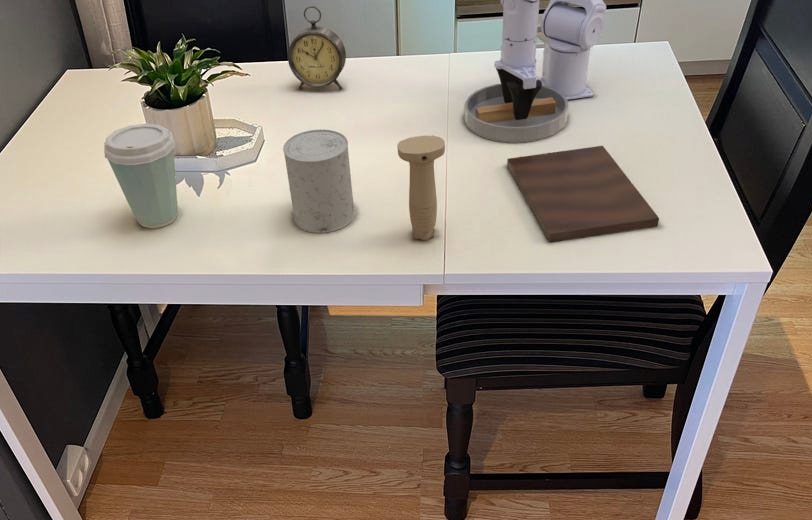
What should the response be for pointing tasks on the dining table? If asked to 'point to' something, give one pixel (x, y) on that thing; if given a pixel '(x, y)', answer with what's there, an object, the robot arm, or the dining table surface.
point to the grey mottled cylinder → (319, 180)
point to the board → (580, 194)
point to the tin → (515, 128)
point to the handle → (422, 181)
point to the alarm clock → (316, 55)
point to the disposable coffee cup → (145, 171)
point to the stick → (507, 113)
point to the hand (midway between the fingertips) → (515, 110)
